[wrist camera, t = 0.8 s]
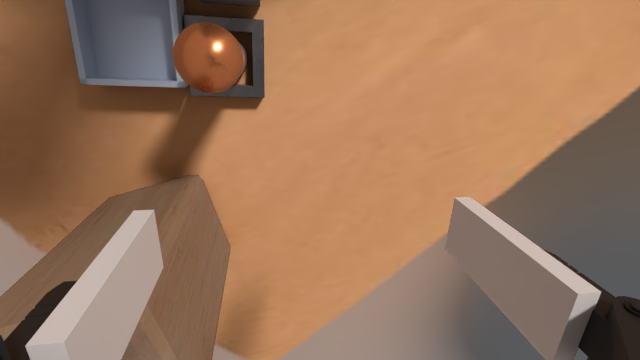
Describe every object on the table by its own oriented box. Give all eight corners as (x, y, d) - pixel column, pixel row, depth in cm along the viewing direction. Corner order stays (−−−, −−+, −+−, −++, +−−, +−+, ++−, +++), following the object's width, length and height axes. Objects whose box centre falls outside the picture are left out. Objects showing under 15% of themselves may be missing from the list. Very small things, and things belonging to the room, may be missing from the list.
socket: (187, 16, 29) (183, 14, 28) (263, 21, 31) (263, 20, 29) (193, 93, 32) (190, 95, 30) (264, 95, 33) (264, 97, 31)
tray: (79, -20, 27) (58, -29, 25) (182, -12, 29) (174, -20, 26) (97, 81, 30) (80, 84, 27) (190, 84, 31) (183, 87, 29)
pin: (204, 33, 30) (169, 19, 19) (249, 36, 31) (241, 24, 20) (207, 80, 31) (176, 92, 20) (250, 81, 32) (243, 94, 21)
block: (234, 249, 38) (206, 432, 19) (146, 275, 37) (32, 490, 19) (201, 168, 34) (129, 300, 16) (104, 196, 34) (-91, 367, 15)
